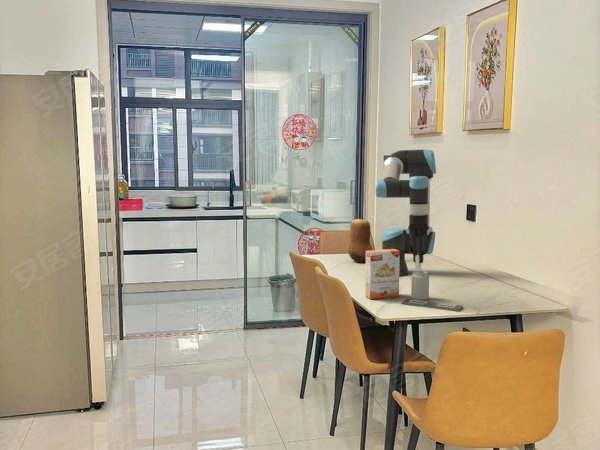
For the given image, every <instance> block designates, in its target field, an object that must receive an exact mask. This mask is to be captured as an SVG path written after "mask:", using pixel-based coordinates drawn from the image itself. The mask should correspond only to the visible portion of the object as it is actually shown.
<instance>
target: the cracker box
mask: <svg viewBox="0 0 600 450" xmlns="http://www.w3.org/2000/svg"><path fill="white" fill-rule="evenodd" d="M399 266H400V251H398V250H396V249H385V250H382V249H373V250H370V251H366V262H365V297H366V298H368V299H369V300H376V299H377V300H378V299H387V298H389V299H391V298H398V297H399V296H400V276H399Z"/></svg>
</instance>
